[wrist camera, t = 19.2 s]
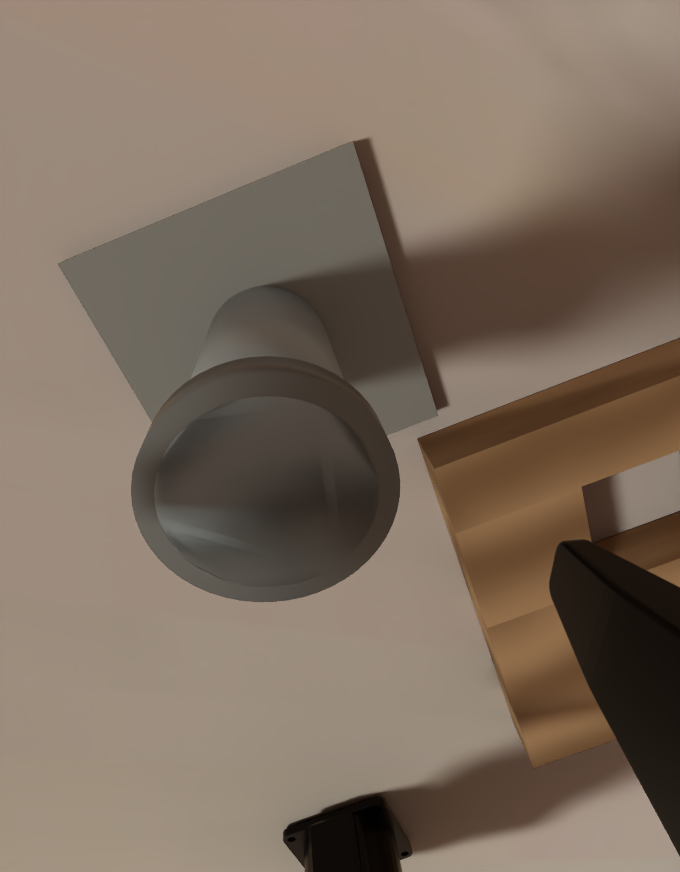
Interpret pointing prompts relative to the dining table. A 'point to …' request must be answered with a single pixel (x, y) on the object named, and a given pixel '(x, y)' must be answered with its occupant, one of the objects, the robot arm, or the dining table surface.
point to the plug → (265, 460)
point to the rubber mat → (260, 283)
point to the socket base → (552, 525)
